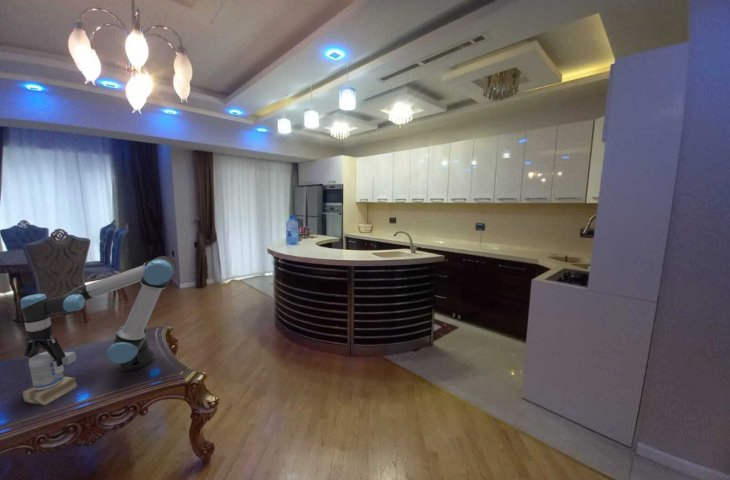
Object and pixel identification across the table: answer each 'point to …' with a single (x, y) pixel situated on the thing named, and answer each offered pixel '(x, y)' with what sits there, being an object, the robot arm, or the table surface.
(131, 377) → the table surface
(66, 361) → the grey cube
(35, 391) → the oak block
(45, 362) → the supplement tub
